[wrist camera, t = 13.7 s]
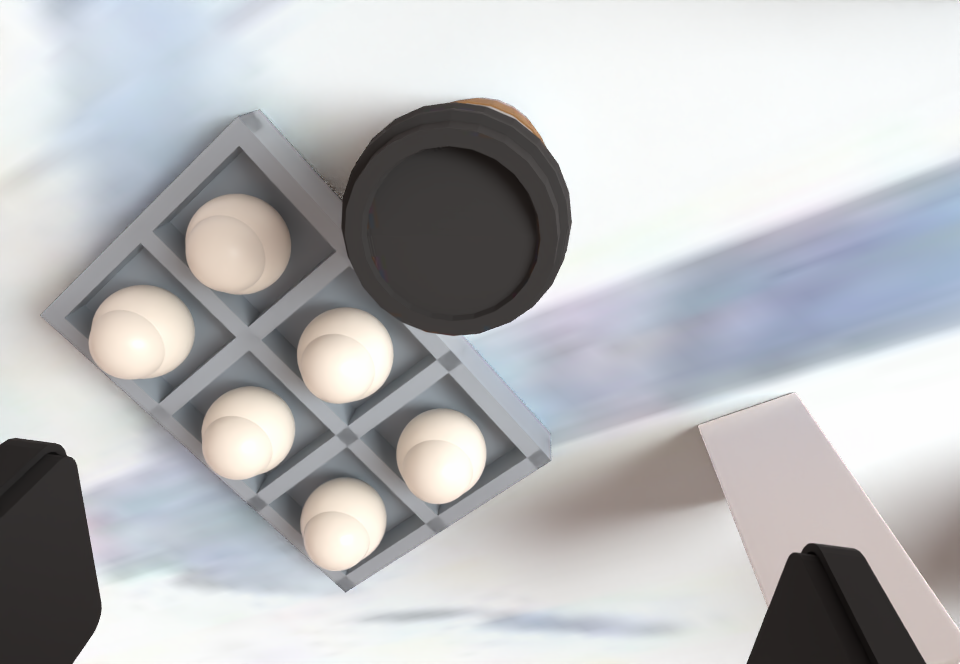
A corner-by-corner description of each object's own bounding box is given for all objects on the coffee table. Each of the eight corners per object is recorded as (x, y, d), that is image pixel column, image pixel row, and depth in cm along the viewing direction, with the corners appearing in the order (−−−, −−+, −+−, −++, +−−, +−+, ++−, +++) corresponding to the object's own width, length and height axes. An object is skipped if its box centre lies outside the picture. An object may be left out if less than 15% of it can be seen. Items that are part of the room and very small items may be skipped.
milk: (795, 390, 42) (1037, 730, 22) (822, 470, 44) (1068, 852, 24) (694, 424, 43) (833, 775, 23) (725, 501, 45) (878, 886, 25)
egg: (314, 456, 45) (282, 516, 39) (395, 465, 45) (375, 527, 39) (314, 522, 47) (285, 588, 42) (392, 531, 47) (372, 599, 41)
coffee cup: (401, 76, 36) (316, 109, 23) (565, 75, 36) (580, 109, 22) (409, 234, 40) (340, 347, 26) (559, 236, 39) (569, 352, 25)
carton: (72, 296, 43) (-11, 344, 36) (259, 109, 38) (202, 127, 31) (356, 560, 49) (328, 640, 43) (550, 433, 44) (552, 503, 38)
